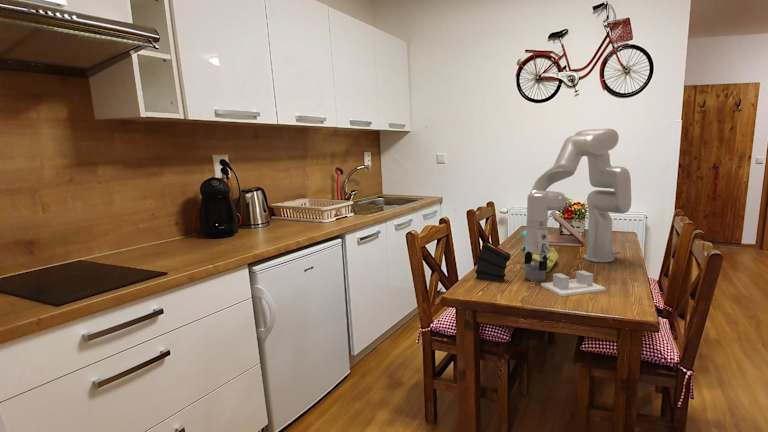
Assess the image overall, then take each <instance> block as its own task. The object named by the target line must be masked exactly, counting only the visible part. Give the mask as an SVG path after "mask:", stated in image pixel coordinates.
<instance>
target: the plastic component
mask: <svg viewBox="0 0 768 432" xmlns="http://www.w3.org/2000/svg"><path fill="white" fill-rule="evenodd" d="M549 250H550V251H551V254H550V257H549V258H548V261H547V265H548V266H551V268H550V269H547V270H546V273H549V272H550V271H551V270H552V268H553V266H554V265H555V264H556V261H557V260H558V259H559V254H558V252H557V251H556V250H555V249H554V248H551V247H550V246H549ZM543 256H544V255H542V257H543ZM539 261H540V258H539V256H538V255H536V254H534V253H532V262H535V263H539ZM525 266H526V264H524V265H523V267H525Z"/></svg>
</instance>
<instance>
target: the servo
mask: <svg viewBox="0 0 768 432" xmlns="http://www.w3.org/2000/svg"><path fill="white" fill-rule="evenodd" d="M550 268H551V266H548V265H547V269H550ZM520 269H521V270H524V271H525V275H526V277H525V278H526V279H527V280H529V281H531V282H538V281H545V280H546V277H547V275H546V273H547V272H546V270H545V271H539V263H535V262H531V263H530V264H526V266H525V267H524V266H520ZM551 269H552V268H551Z"/></svg>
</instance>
